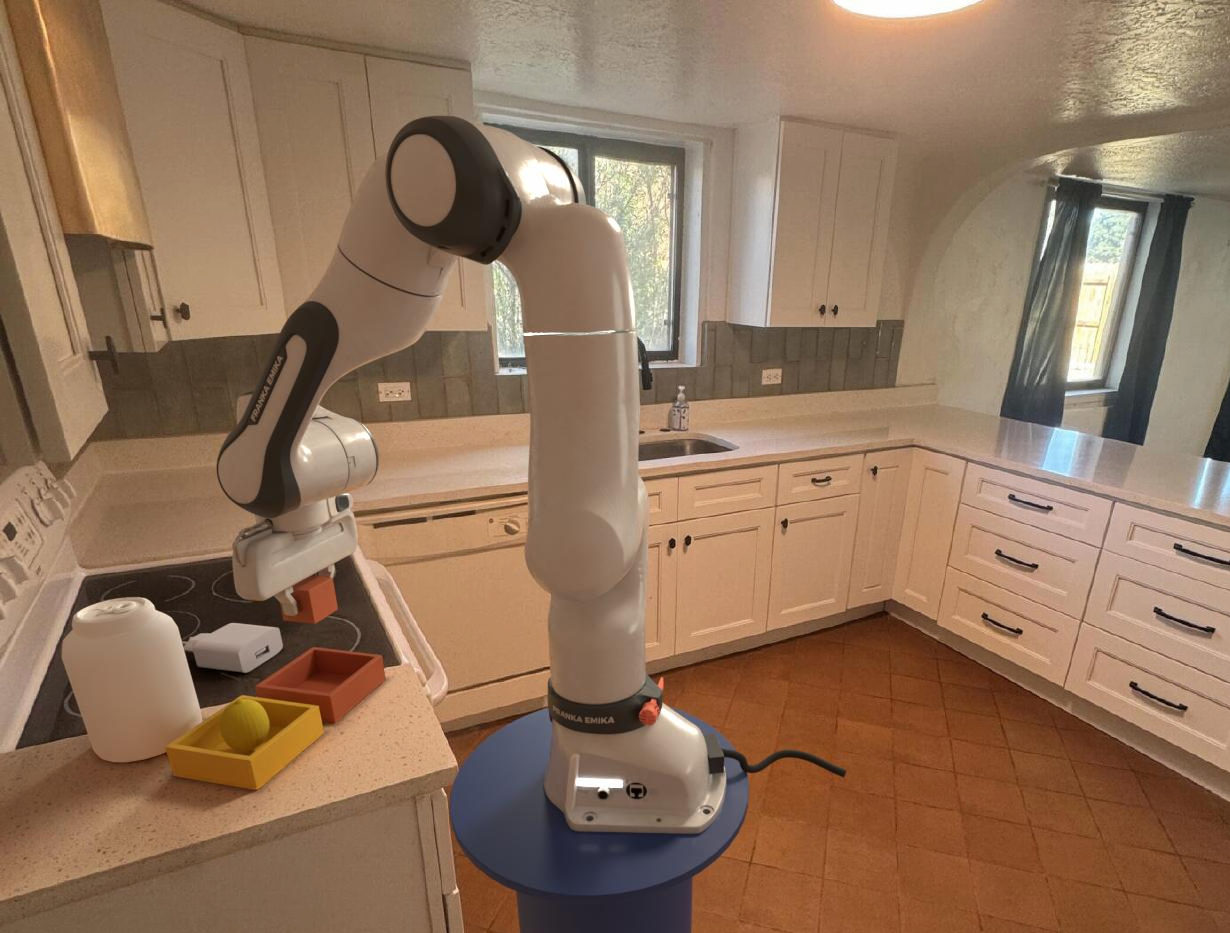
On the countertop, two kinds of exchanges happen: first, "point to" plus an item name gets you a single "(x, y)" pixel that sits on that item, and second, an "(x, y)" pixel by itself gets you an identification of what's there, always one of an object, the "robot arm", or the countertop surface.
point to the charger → (235, 647)
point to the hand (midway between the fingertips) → (309, 604)
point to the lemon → (244, 725)
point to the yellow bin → (219, 763)
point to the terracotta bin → (326, 680)
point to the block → (313, 599)
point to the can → (130, 678)
